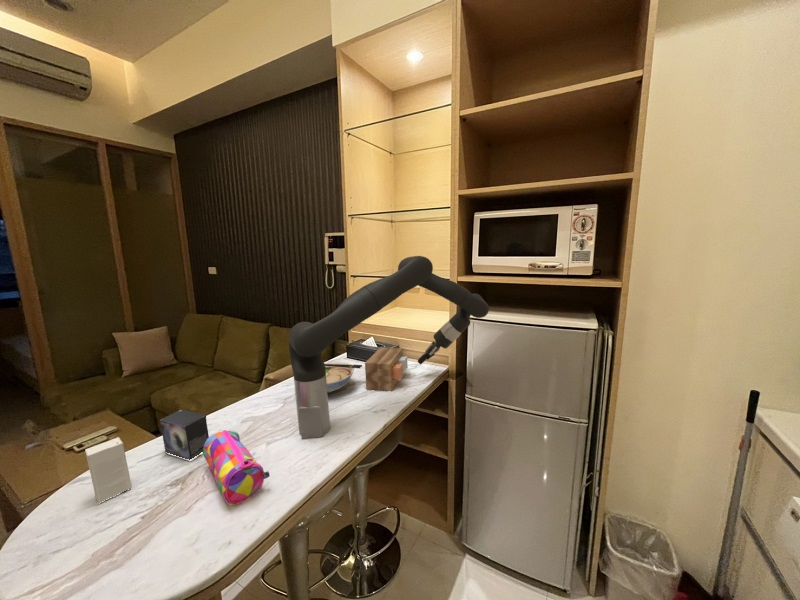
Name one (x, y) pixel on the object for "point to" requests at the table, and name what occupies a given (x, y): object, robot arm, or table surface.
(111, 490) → the skincare box
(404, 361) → the grey key
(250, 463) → the pencil case
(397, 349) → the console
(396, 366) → the salmon key
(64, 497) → the table surface
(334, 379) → the ramen bowl
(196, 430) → the small box
